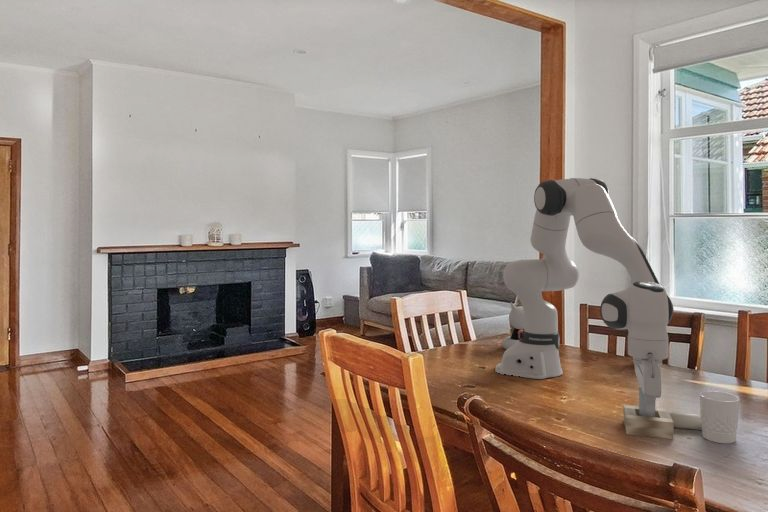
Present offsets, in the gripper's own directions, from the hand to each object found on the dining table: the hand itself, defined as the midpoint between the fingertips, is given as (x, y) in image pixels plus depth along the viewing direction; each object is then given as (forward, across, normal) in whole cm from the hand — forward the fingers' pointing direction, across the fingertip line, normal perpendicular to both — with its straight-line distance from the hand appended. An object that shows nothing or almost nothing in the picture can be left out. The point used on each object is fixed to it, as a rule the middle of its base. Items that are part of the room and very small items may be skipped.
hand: (647, 404), depth 131 cm
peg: (+6, 0, 0) cm, 6 cm away
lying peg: (+3, +3, -10) cm, 11 cm away
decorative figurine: (+6, +79, +38) cm, 88 cm away
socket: (+6, 0, 0) cm, 6 cm away
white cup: (+6, -1, -15) cm, 16 cm away
